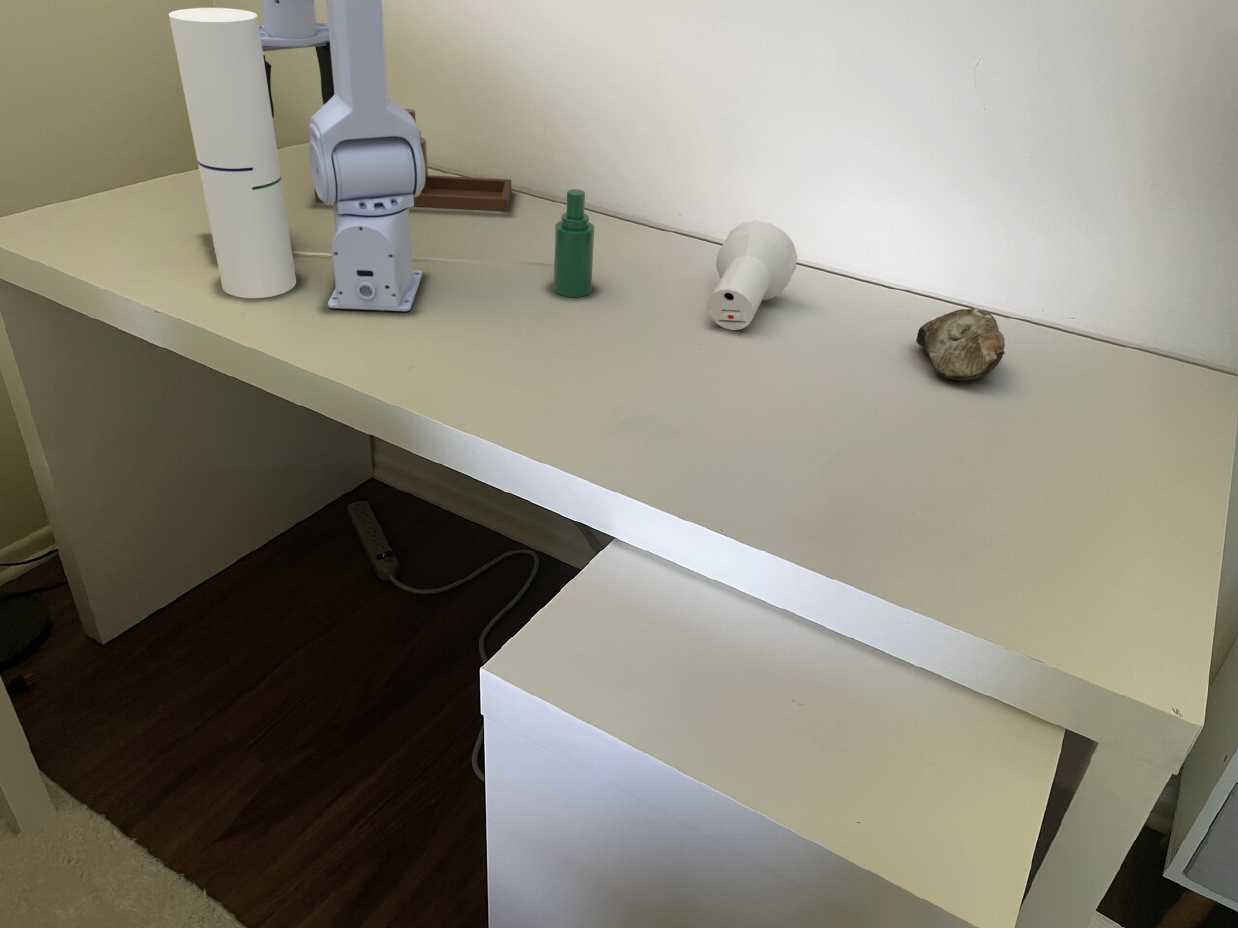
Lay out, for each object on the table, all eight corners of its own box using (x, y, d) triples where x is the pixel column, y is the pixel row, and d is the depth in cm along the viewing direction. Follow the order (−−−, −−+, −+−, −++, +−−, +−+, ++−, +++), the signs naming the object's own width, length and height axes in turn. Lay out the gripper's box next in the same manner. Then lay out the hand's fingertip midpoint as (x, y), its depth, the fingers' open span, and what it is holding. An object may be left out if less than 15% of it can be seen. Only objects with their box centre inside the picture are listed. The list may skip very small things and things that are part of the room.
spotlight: (801, 286, 98) (796, 218, 93) (772, 347, 91) (765, 277, 85) (729, 283, 101) (720, 217, 96) (696, 342, 94) (685, 274, 89)
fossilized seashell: (1018, 376, 82) (1005, 346, 90) (995, 308, 80) (985, 284, 89) (933, 403, 85) (929, 371, 93) (910, 338, 83) (908, 311, 92)
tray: (507, 215, 115) (507, 199, 113) (316, 205, 113) (314, 190, 112) (511, 194, 121) (511, 179, 120) (330, 185, 120) (329, 170, 118)
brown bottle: (426, 202, 115) (422, 115, 109) (394, 200, 115) (388, 113, 109) (431, 191, 119) (426, 107, 113) (399, 190, 118) (393, 105, 112)
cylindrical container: (218, 274, 94) (166, 8, 80) (290, 266, 97) (251, 8, 83) (226, 302, 89) (171, 22, 75) (301, 293, 92) (262, 22, 78)
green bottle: (591, 298, 96) (596, 199, 90) (553, 296, 95) (555, 197, 89) (591, 282, 99) (595, 186, 93) (554, 281, 99) (556, 184, 93)
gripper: (333, -26, 107) (341, 91, 116) (206, -19, 99) (225, 105, 108) (360, -7, 103) (366, 113, 112) (231, 1, 95) (248, 129, 104)
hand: (299, 111), depth 110 cm, fingers open, 7 cm apart
